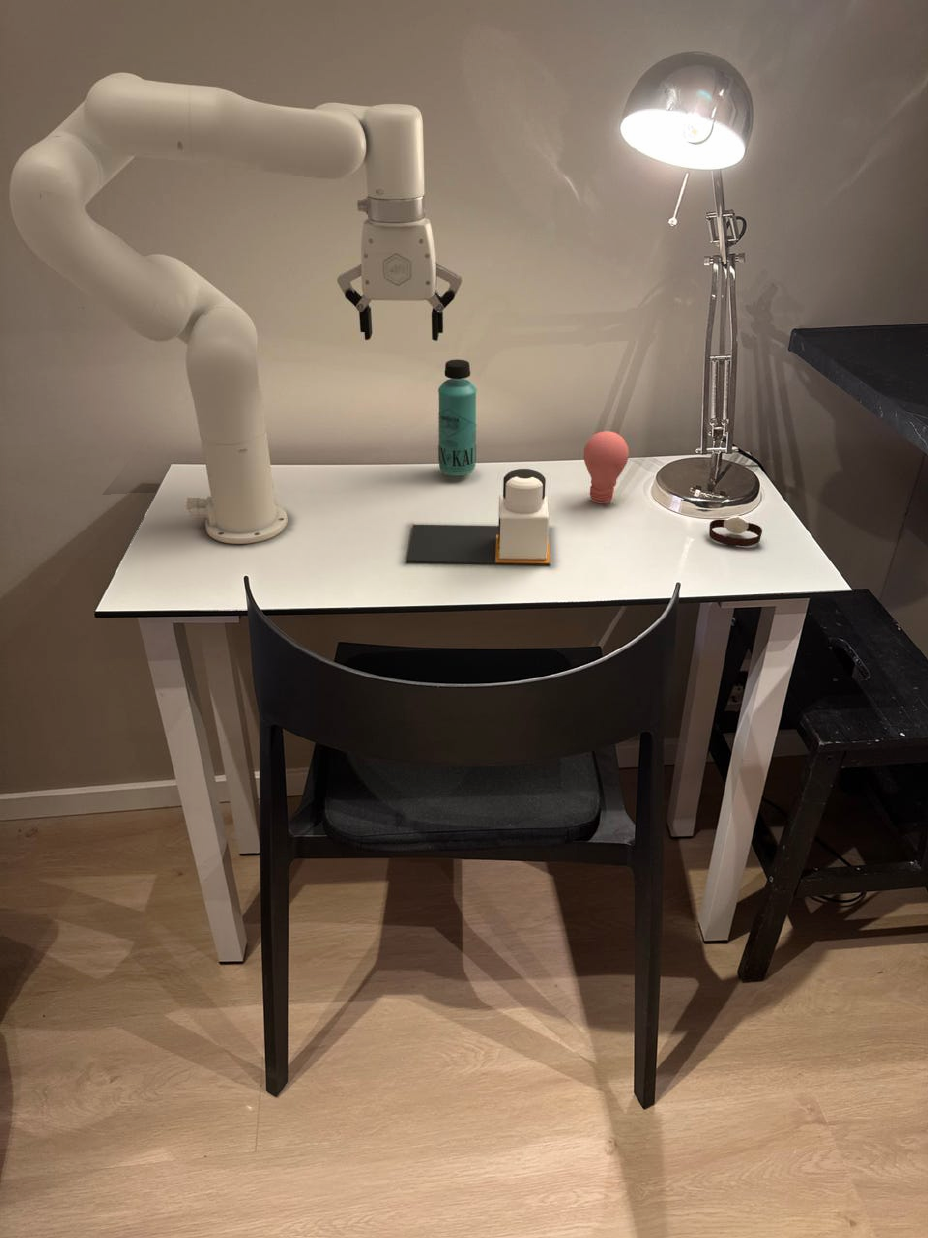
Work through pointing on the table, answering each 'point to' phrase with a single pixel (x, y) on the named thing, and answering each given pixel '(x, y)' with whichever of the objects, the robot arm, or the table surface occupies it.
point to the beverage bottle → (457, 420)
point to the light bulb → (605, 463)
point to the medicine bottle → (523, 516)
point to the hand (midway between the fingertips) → (402, 337)
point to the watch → (735, 531)
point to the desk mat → (460, 546)
